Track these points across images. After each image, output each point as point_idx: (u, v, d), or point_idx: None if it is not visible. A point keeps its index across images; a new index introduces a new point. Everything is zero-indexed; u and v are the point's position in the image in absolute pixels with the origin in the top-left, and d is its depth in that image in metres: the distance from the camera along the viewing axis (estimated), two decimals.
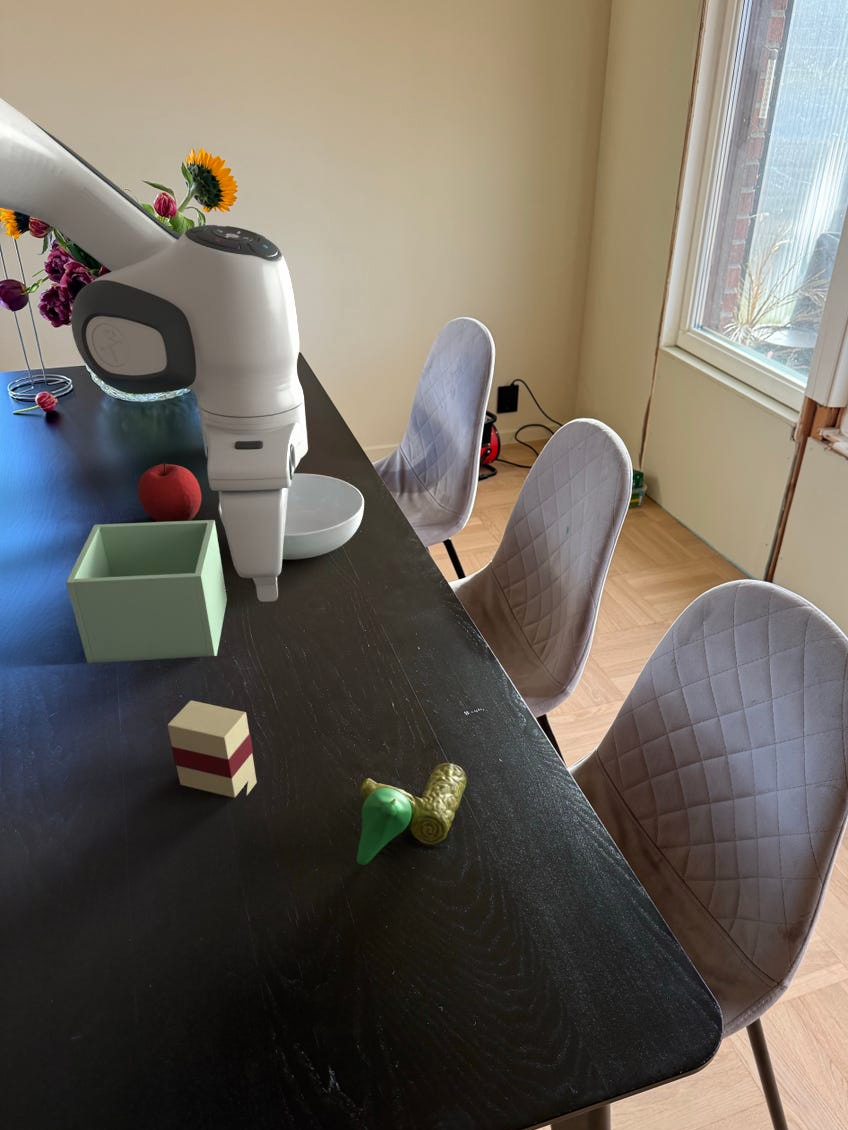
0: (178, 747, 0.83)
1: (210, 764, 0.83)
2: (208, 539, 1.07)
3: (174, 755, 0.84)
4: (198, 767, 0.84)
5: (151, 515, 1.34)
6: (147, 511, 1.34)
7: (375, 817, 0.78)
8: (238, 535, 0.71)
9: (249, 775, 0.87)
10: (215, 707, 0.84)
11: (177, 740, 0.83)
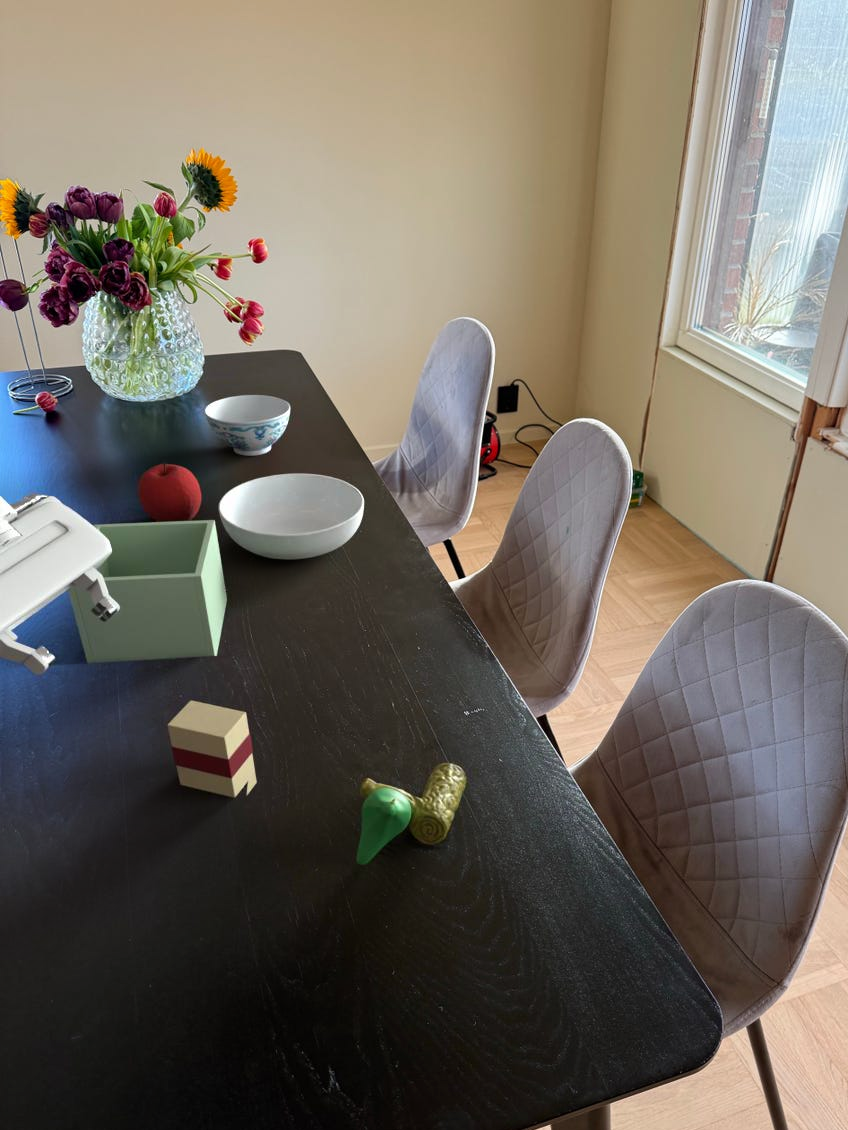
0: (178, 747, 0.83)
1: (210, 764, 0.83)
2: (208, 539, 1.07)
3: (174, 755, 0.84)
4: (198, 767, 0.84)
5: (151, 515, 1.34)
6: (147, 511, 1.34)
7: (375, 817, 0.78)
8: None
9: (249, 775, 0.87)
10: (215, 707, 0.84)
11: (177, 740, 0.83)
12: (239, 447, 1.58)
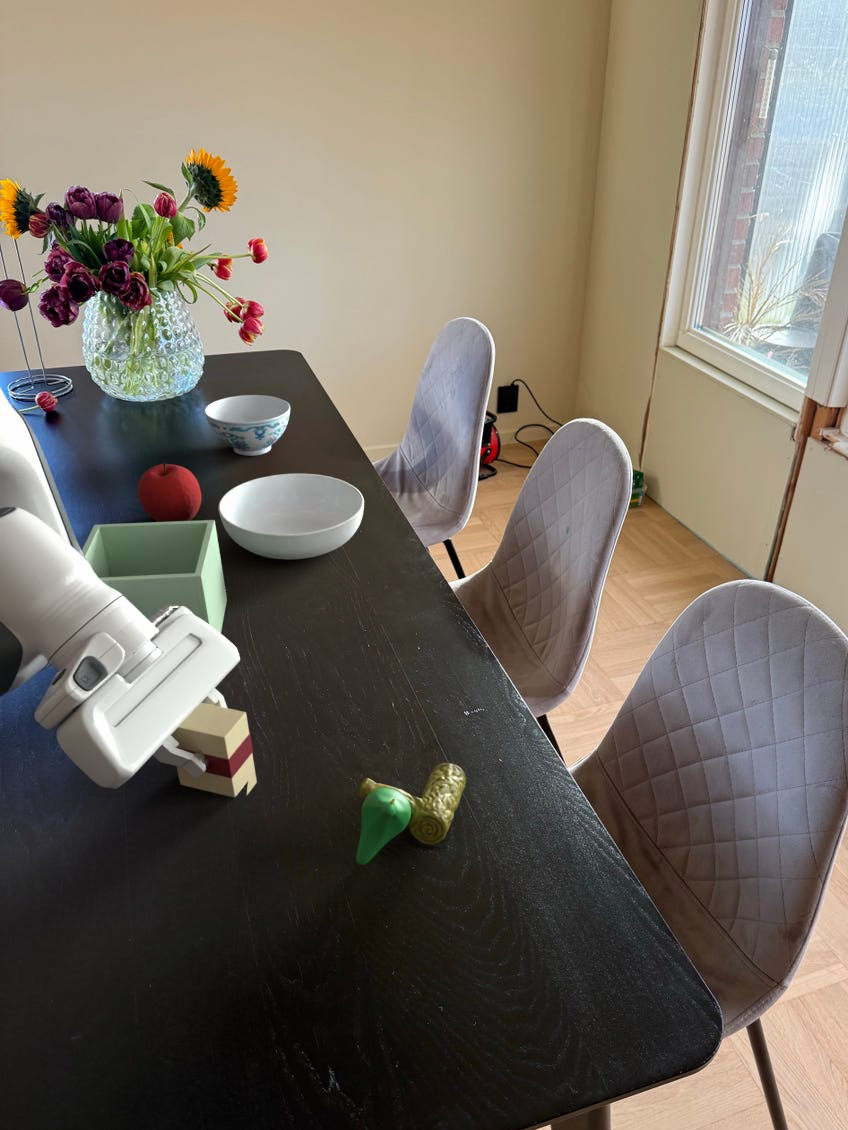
0: (178, 747, 0.83)
1: (210, 764, 0.83)
2: (208, 539, 1.07)
3: None
4: None
5: (151, 515, 1.34)
6: (147, 511, 1.34)
7: (374, 817, 0.78)
8: (76, 758, 0.76)
9: (249, 775, 0.87)
10: (215, 707, 0.85)
11: (177, 740, 0.83)
12: (239, 447, 1.58)
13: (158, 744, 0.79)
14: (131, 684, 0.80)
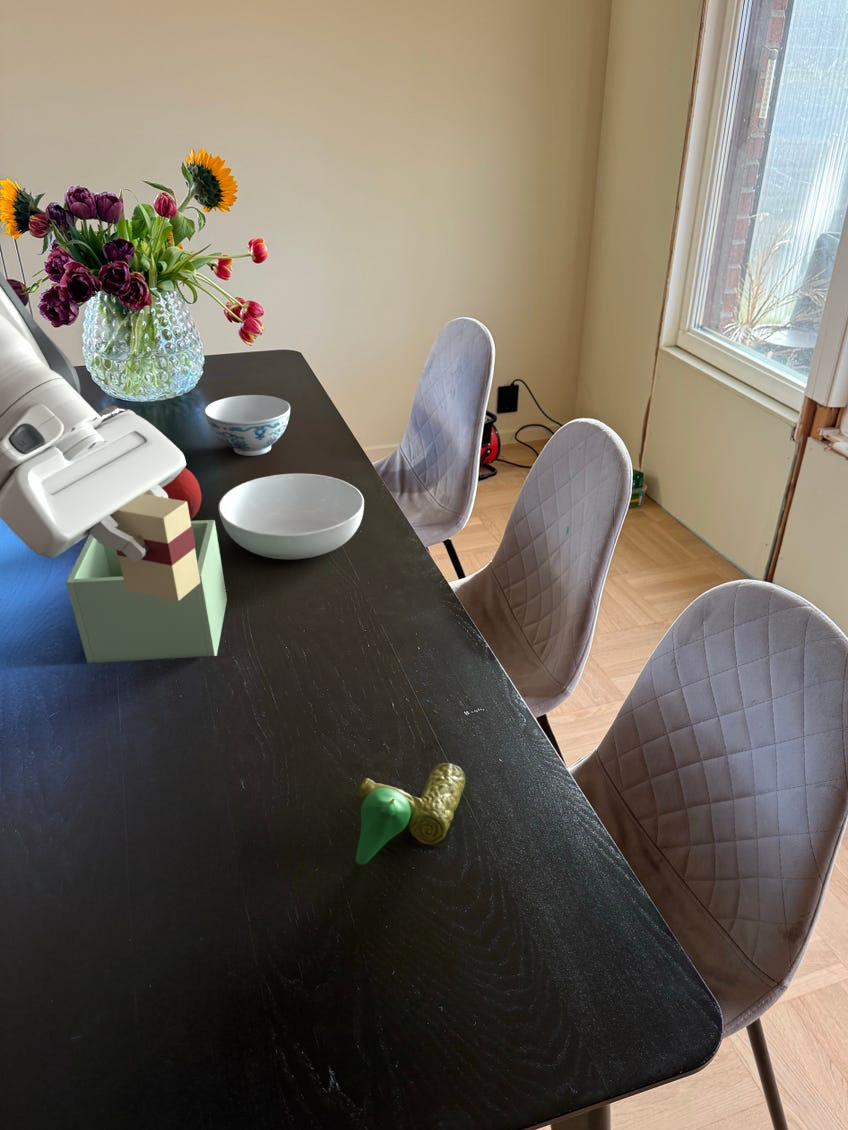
0: None
1: (151, 550, 0.84)
2: (208, 539, 1.07)
3: None
4: None
5: None
6: None
7: (374, 817, 0.78)
8: (13, 524, 0.77)
9: (192, 571, 0.88)
10: (157, 497, 0.85)
11: (118, 525, 0.84)
12: (239, 447, 1.58)
13: (96, 519, 0.80)
14: (70, 461, 0.81)
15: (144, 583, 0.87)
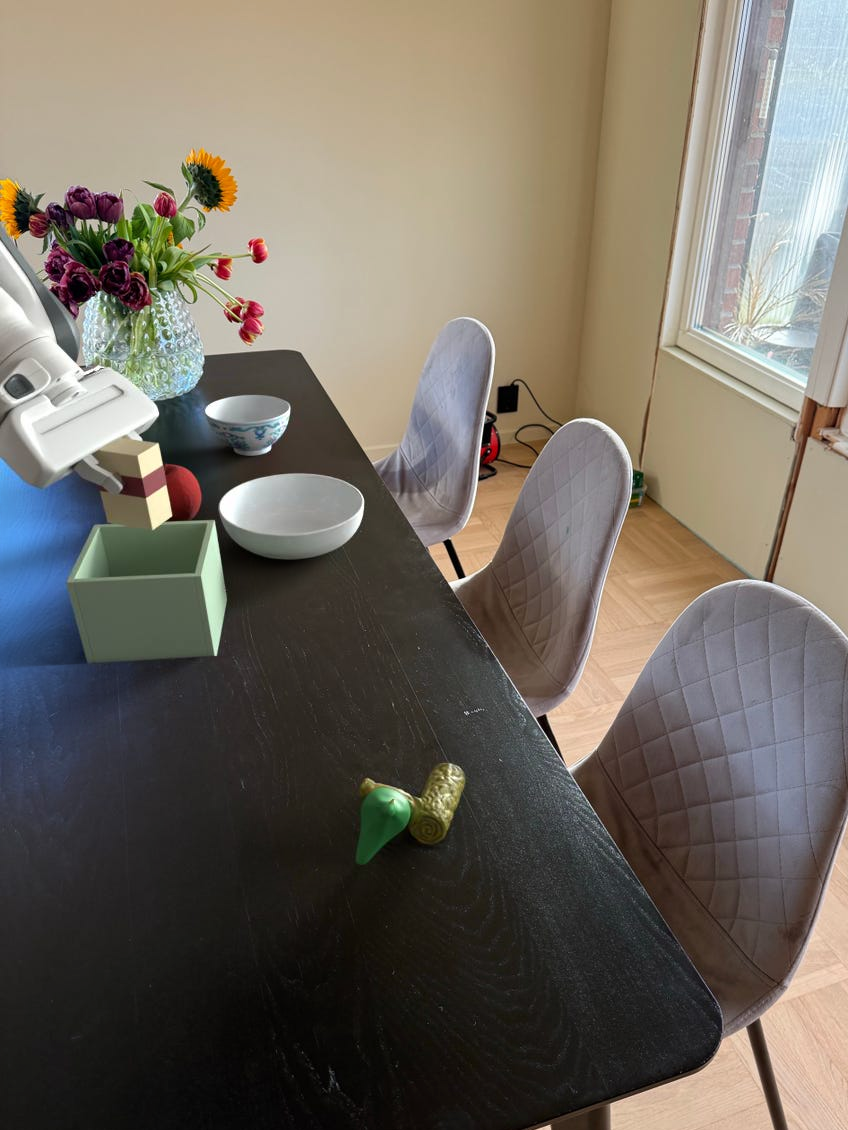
0: None
1: (127, 485, 0.98)
2: (208, 539, 1.07)
3: None
4: None
5: None
6: None
7: (374, 817, 0.78)
8: (8, 459, 0.91)
9: (164, 505, 1.02)
10: (133, 440, 0.99)
11: (99, 464, 0.98)
12: (239, 447, 1.58)
13: (79, 456, 0.94)
14: (57, 408, 0.94)
15: (123, 515, 1.00)
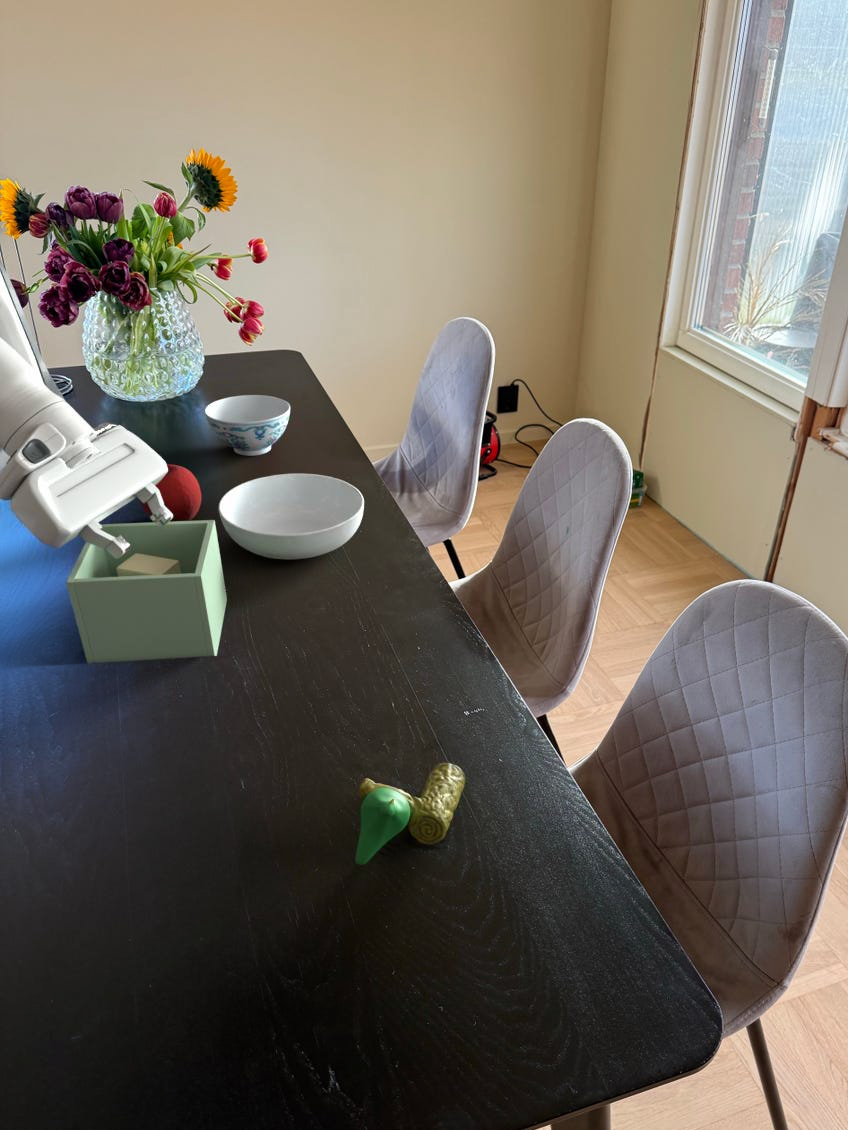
0: None
1: None
2: (208, 539, 1.07)
3: None
4: None
5: (151, 515, 1.34)
6: (147, 511, 1.34)
7: (374, 817, 0.78)
8: (25, 520, 0.95)
9: None
10: (155, 557, 1.07)
11: None
12: (239, 447, 1.58)
13: (93, 516, 0.98)
14: (71, 469, 0.98)
15: None
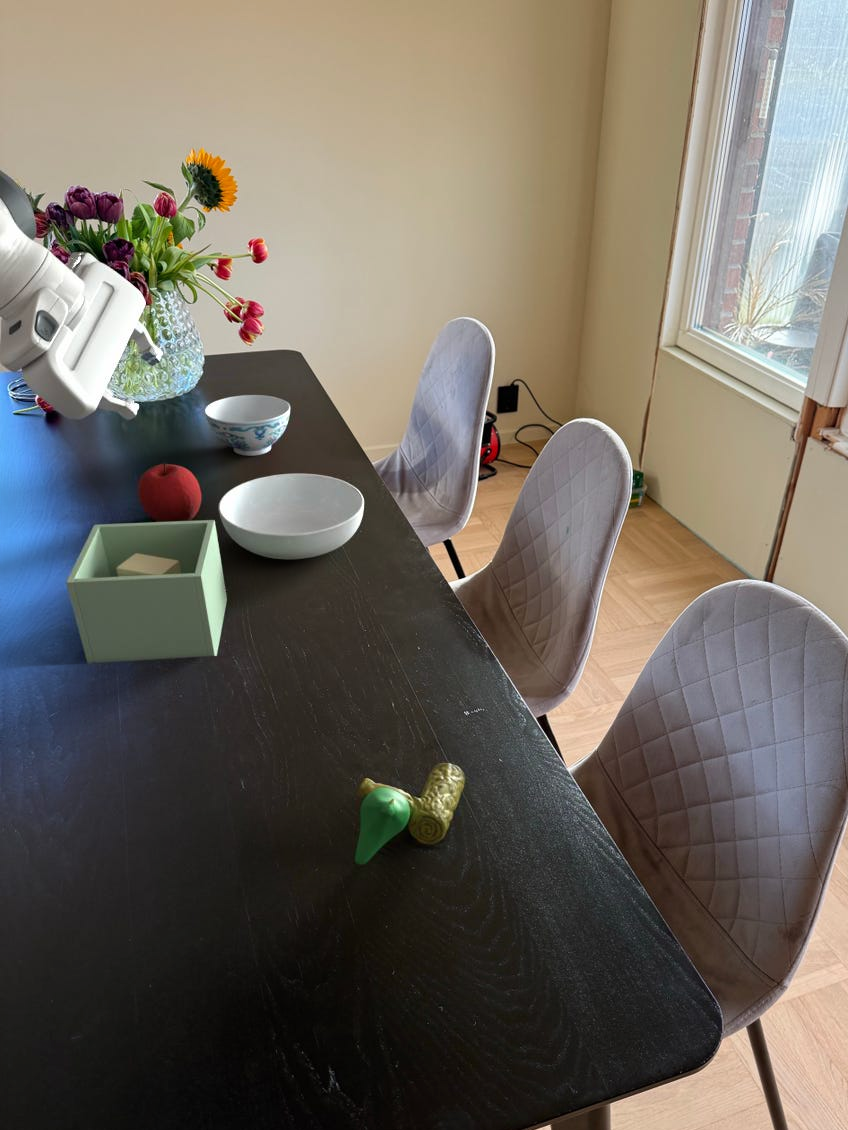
0: None
1: None
2: (208, 539, 1.07)
3: None
4: None
5: (151, 515, 1.34)
6: (147, 511, 1.34)
7: (373, 817, 0.78)
8: (46, 396, 0.96)
9: None
10: (155, 557, 1.07)
11: None
12: (239, 447, 1.58)
13: (106, 383, 0.99)
14: (73, 332, 0.97)
15: None
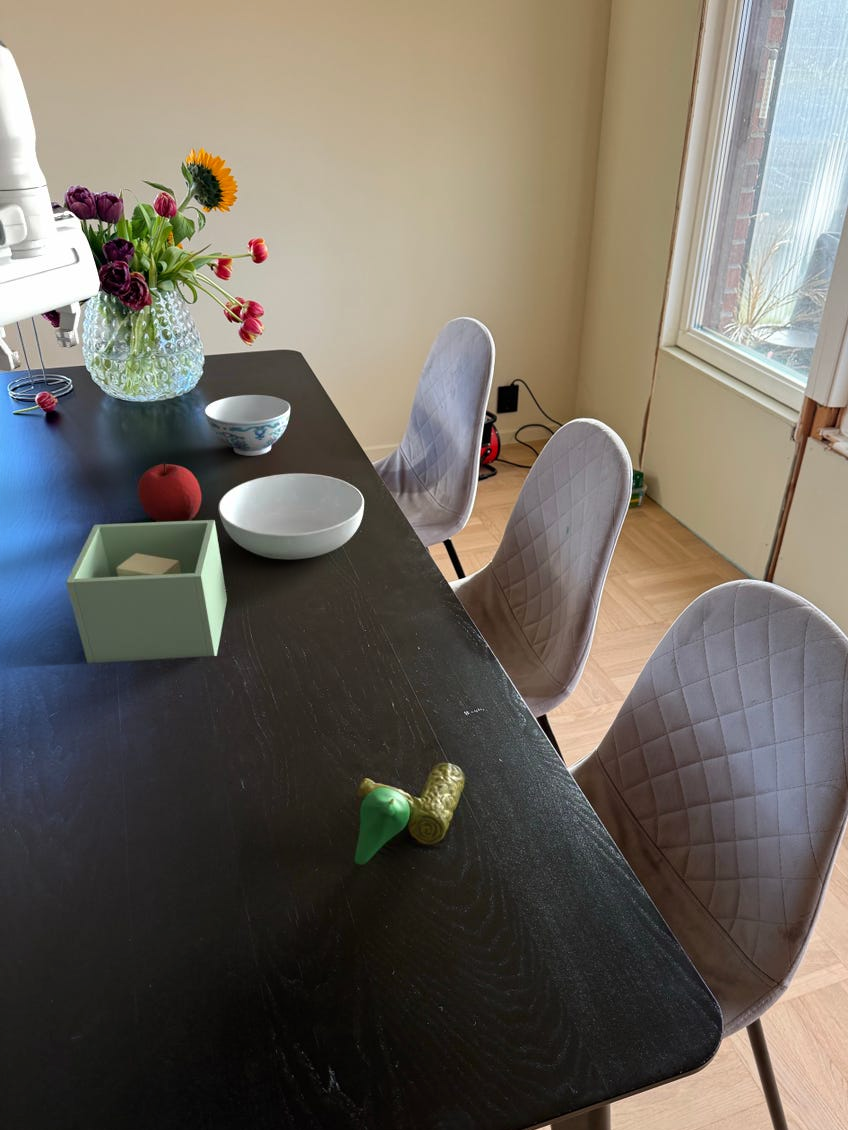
0: None
1: None
2: (208, 539, 1.07)
3: None
4: None
5: (151, 515, 1.34)
6: (147, 511, 1.34)
7: (373, 817, 0.78)
8: None
9: None
10: (155, 557, 1.07)
11: None
12: (239, 447, 1.58)
13: (7, 323, 0.89)
14: (12, 261, 0.88)
15: None
